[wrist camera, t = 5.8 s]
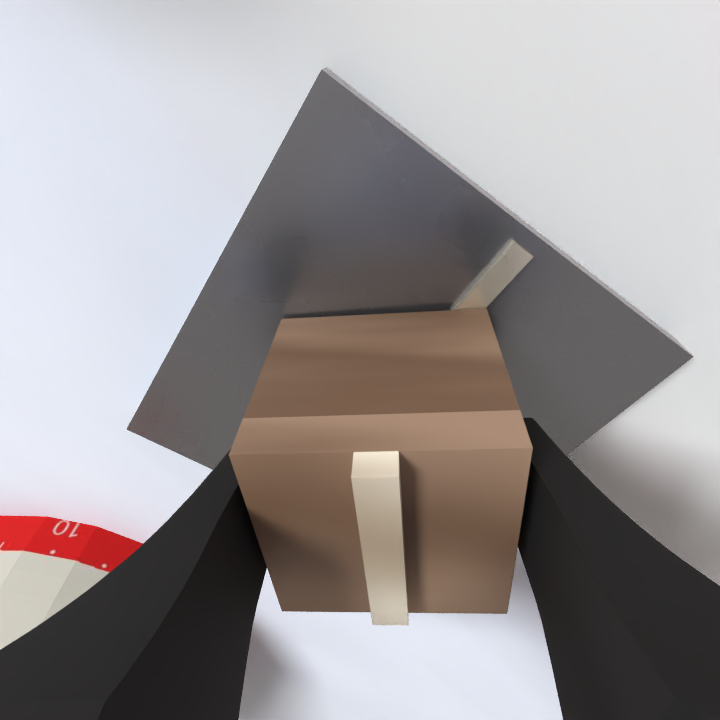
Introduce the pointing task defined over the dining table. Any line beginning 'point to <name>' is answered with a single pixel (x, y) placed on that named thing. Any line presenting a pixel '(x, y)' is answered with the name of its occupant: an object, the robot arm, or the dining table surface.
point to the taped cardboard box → (386, 465)
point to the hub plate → (395, 283)
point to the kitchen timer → (50, 567)
